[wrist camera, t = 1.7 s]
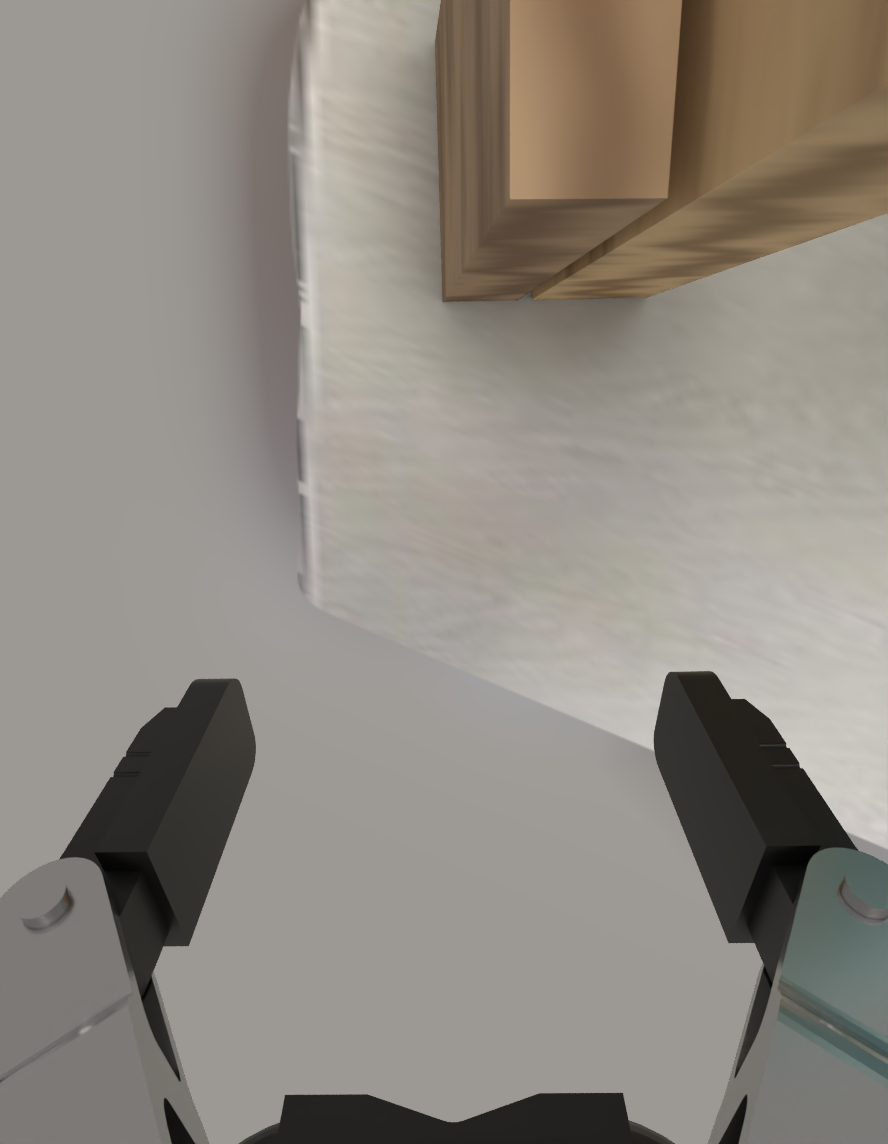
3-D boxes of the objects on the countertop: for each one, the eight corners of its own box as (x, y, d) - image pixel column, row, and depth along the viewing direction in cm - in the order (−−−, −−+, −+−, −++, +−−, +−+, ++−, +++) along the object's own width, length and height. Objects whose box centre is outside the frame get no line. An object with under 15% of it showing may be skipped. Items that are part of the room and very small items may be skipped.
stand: (663, 45, 36) (2272, -1938, 5) (647, 297, 40) (1486, 2, 9) (535, 43, 35) (1518, -2226, 5) (531, 299, 39) (1035, -8, 9)
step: (518, 43, 35) (716, -470, 14) (517, 299, 39) (667, 197, 18) (435, 42, 35) (510, -489, 14) (442, 301, 39) (509, 199, 18)
